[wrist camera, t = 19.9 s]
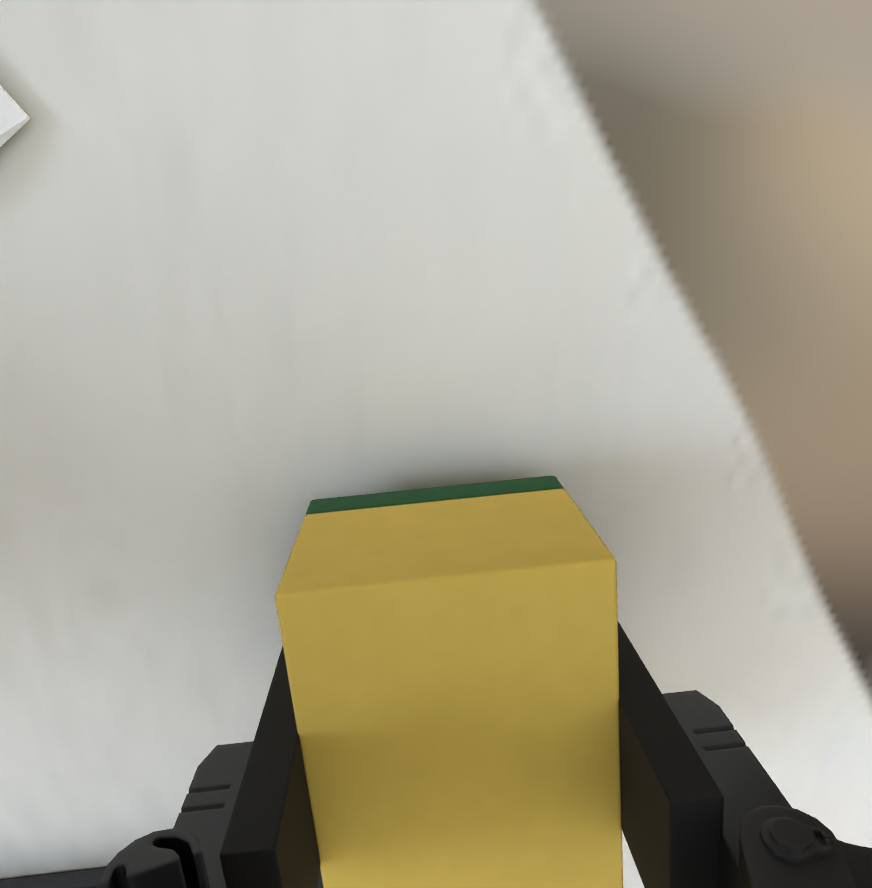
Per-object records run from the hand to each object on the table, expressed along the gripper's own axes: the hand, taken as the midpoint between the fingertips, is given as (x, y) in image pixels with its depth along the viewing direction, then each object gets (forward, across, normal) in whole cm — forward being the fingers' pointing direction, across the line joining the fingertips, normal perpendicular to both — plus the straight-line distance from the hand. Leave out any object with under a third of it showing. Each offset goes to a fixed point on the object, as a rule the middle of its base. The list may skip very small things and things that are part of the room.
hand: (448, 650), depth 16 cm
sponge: (0, 0, 0) cm, 0 cm away
